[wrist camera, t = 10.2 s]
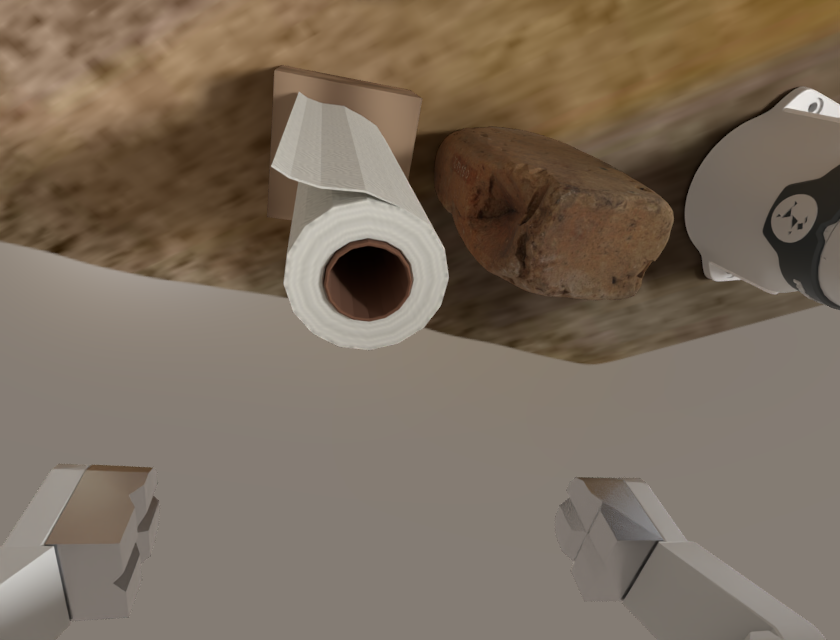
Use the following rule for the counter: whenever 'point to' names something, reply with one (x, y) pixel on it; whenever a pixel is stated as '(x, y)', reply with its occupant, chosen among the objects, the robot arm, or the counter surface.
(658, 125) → the counter surface
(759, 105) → the counter surface
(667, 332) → the counter surface
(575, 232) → the block
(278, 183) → the walnut block
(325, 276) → the paper towel roll
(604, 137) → the counter surface
